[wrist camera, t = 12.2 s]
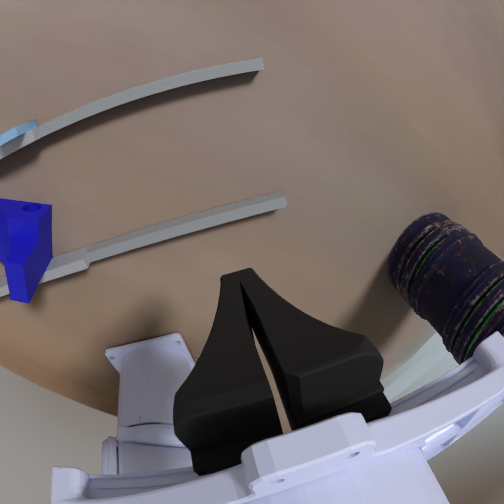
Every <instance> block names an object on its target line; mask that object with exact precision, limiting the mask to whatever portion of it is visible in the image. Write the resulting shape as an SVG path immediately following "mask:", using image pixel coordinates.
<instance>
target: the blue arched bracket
mask: <svg viewBox="0 0 504 504" xmlns="http://www.w3.org/2000/svg"><path fill="white" fill-rule="evenodd" d="M52 258H53V255H52V205H47V204H40V203H32V202H24V201H16V200H8V199H0V260H1V261H3V262H4V265H5V272H6V278H7V283H8V289H9V294H10V299H11V300H14V301H19V302H24V303H29V302H30V300H31V298H32V296H33V294H34V292H35V290H36V288H37V286H38V284H39V282H40V280H41V278H42V276H43V274H44V272H45V271H46V269H47V267H48V265H49V263H50V261H51V260H52Z"/></svg>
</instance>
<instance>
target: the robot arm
mask: <svg viewBox="0 0 504 504" xmlns="http://www.w3.org/2000/svg"><path fill="white" fill-rule="evenodd" d="M220 281H221V286H220V296H219V301H218V307H217V311H216V315H215V319H214V322H213V326H212V329H211V332H210V334H209V337H208V340H207V342H206V344H205V346H204V349H203V351H202V353H201V355H200V357H199V359H198V361H197V362H196V364H195V362H194V360H193V358H192V356H191V354H190V352H189V350H188V348H187V346H186V344H185V342H184V340H183V338H182V336H181V335H180V334H179V333H173V334H169V335H165V336H161V337H157V338H153V339H149V340H145V341H140V342H136V343H132V344H127V345H123V346H118V347H114V348H109V349H106V350H105V355H106V357H107V358H108V360H109V361H110V362H111V364H112V365H113V366H114V368H115V369H116V370H117V371H118V373H119V374H120V384H119V401H118V431H117V438H115V437H111V436H109V437H108V439H107V440H105V441H103V444H102V475H89V474H88V473H86V472H85V471H83V470H81V469H79V468H75V467H53V468H52V482H51V504H449V502H448V500H447V498H446V496H445V494H444V492H443V491H442V489H441V487H440V485H439V484H438V482H437V480H436V478H435V476H434V474H433V472H432V471H431V469H430V467H429V465H428V463H427V462H426V461H427V460H429V459H430V458H432V457H433V456H435V455H436V454H438V453H439V452H441V451H442V450H443V449H445V448H446V447H448V446H449V445H451V444H452V443H453V442H455V441H456V440H457V439H459V438H460V437H461V436H463V435H464V434H465V433H467V432H468V431H469V430H471V429H472V428H473V427H474V426H476V425H477V424H478V423H479V422H481V421H482V420H483V419H484V418H486V417H487V416H488V415H489V414H490V413H492V412H493V411H494V410H495V409H496V408H498V407H499V406H500V405H501V404H502V403H503V402H504V337H503V336H502V335H501V334H500V333H499V332H498V331H496V332H495V333H493V334H492V335H490V336H489V337H488V338H486V339H485V340H483V341H482V342H481V343H480V344H479V345H478V346H477V348H476V349H475V351H474V354H473V356H472V357H471V358H469V359H468V360H466V361H465V362H463V363H462V364H460V365H459V366H457V367H455V368H454V369H452V370H451V371H449V372H447V373H446V374H444V375H442V376H441V377H439V378H437V379H436V380H434V381H432V382H430V383H429V384H427V385H425V386H423V387H421V388H419V389H418V390H416V391H414V392H412V393H410V394H408V395H406V396H404V397H402V398H400V399H398V400H397V401H394V402H392V403H389V402H388V400H387V398H386V397H385V395H384V393H383V391H384V388H383V386H382V384H381V382H380V381H379V380H380V376H381V372H382V368H383V358H382V356H381V354H380V353H379V351H378V350H377V349H376V347H375V346H374V345H373V344H372V343H371V342H370V341H369V340H368V339H367V338H366V337H365V336H364V335H360V334H356V333H353V332H349V331H345V330H342V329H339V328H336V327H333V326H331V325H328V324H326V323H324V322H322V321H319V320H317V319H315V318H313V317H311V316H309V315H308V314H306V313H304V312H302V311H301V310H299V309H297V308H296V307H294V306H293V305H291V304H290V303H289V302H287V301H286V300H285V299H283V298H282V297H281V296H279V295H278V294H277V293H276V292H275V291H274V290H272V289H271V288H270V287H269V286H268V285H267V284H266V283H265V282H264V281H263V280H262V279H261V278H260V277H259V276H258V275H257V274H256V272H255V271H254V270H253V269H252V268H247V269H244V270H240V271H236V272H233V273H229V274H226V275H222V277H221V278H220ZM251 326H252V327H251ZM252 329H253V331H254V333H255V335H256V338H257V340H258V342H259V344H260V347H261V349H262V351H263V353H264V355H265V357H266V360H267V362H268V364H269V366H270V369H271V371H272V374H273V377H274V380H275V383H276V386H277V389H278V392H279V395H280V398H281V400H282V403H283V406H284V409H285V412H286V415H287V418H288V421H289V424H290V427H291V430H292V431H291V432H288V433H285V434H283V432H282V427H281V423H280V420H279V416H278V412H277V408H276V405H275V401H274V397H273V394H272V391H271V388H270V385H269V382H268V379H267V376H266V374H265V371H264V368H263V366H262V363H261V360H260V357H259V355H258V352H257V349H256V346H255V341H254V336H253V331H252ZM176 341H180V342H176ZM111 356H113V357H111Z"/></svg>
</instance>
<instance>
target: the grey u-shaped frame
mask: <svg viewBox="0 0 504 504" xmlns="http://www.w3.org/2000/svg"><path fill="white" fill-rule="evenodd" d="M258 70H264V64H263V58H258V59H251V60H244V61H238V62H233V63H227V64H222V65H217V66H212V67H207V68H203V69H198V70H194V71H190V72H186V73H182V74H178V75H174V76H170V77H167V78H163V79H160V80H156V81H153V82H149V83H146V84H143V85H140V86H137V87H133V88H130V89H127V90H124V91H122V92H119V93H116V94H113V95H110V96H108V97H105V98H102V99H100V100H97V101H94V102H92V103H89V104H87V105H85V106H82V107H80V108H77V109H75V110H73V111H70V112H68V113H66V114H64V115H61V116H59V117H57V118H55V119H53V120H51V121H49V122H47V123H44V124H42V125H40V126H38V127H36V128H34V129H31V130H29V131H28V132H26V133H24V134H22V135H20V136H18V137H16V138H15V139H13V140H11V141H9V142H8V143H6V144H4V145H2V146H1V147H0V159H2V158H4V157H6V156H7V155H9V154H11V153H13V152H15V151H16V150H18V149H20V148H22V147H24V146H26V145H28V144H30V143H32V142H34V141H36V140H38V139H40V138H42V137H44V136H46V135H48V134H50V133H52V132H54V131H56V130H59V129H61V128H63V127H65V126H68V125H70V124H72V123H75V122H77V121H79V120H82V119H84V118H87V117H89V116H92V115H94V114H97V113H99V112H102V111H105V110H107V109H110V108H113V107H116V106H118V105H121V104H124V103H127V102H130V101H133V100H136V99H139V98H142V97H146V96H149V95H152V94H155V93H159V92H162V91H166V90H169V89H173V88H177V87H181V86H185V85H188V84H193V83H197V82H201V81H205V80H210V79H214V78H219V77H224V76H229V75H235V74H240V73H246V72H252V71H258ZM284 207H287V203H286V197H285V195H284V194H283V193H282V192H281V191H278V192H274V193H270V194H266V195H262V196H258V197H254V198H250V199H246V200H243V201H239V202H235V203H231V204H227V205H224V206H220V207H216V208H212V209H209V210H205V211H201V212H198V213H194V214H191V215H187V216H184V217H180V218H177V219H173V220H170V221H166V222H163V223H160V224H156V225H153V226H150V227H146V228H143V229H140V230H136V231H133V232H130V233H127V234H124V235H120V236H117V237H114V238H111V239H108V240H105V241H102V242H99V243H95V244H92V245H89V246H86V247H83V248H80V249H77V250H74V251H72V252H69V253H66V254H63V255H60V256H57V257H54V258H52V260H51V261H50V263H49V265H48V267H47V269H46V271H45V272H44V274H43V276H42V278H41V280H40V282H39V284H40V283H43V282H46V281H50V280H53V279H56V278H59V277H62V276H65V275H68V274H71V273H75V272H78V271H81V270H84V269H87V268H88V267H89V265H90V262H93V261H96V260H100V259H103V258H106V257H109V256H113V255H116V254H119V253H122V252H126V251H129V250H132V249H136V248H139V247H142V246H146V245H149V244H153V243H156V242H159V241H163V240H166V239H170V238H173V237H177V236H180V235H184V234H187V233H191V232H194V231H198V230H201V229H205V228H209V227H212V226H216V225H220V224H223V223H227V222H231V221H234V220H238V219H242V218H245V217H249V216H253V215H257V214H261V213H264V212H268V211H272V210H276V209H280V208H284ZM7 294H9V289H8V283H7V278H6V275H5V276H2V277H0V297H1V296H4V295H7Z"/></svg>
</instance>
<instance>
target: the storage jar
mask: <svg viewBox="0 0 504 504" xmlns="http://www.w3.org/2000/svg"><path fill="white" fill-rule="evenodd" d="M388 276H389V280H390V282H391V283H392V284H393V286H394V287H395V288H396V289H397V290H399V292H400V293H401V294H402V296H403V298H404V300H405V301H406V302H407V303H408V304H409V305H410V306H411V307H412V308H413V309H414V312H415V313H416V314H417V315H419V316H420V317H421V318H423V319H425V320H428V322H429V323H430V324H431V325H432V326H433V327H434V329H435V330H436V331H437V332H438V333H439V334H440V336H441V337H442V338H443V344H444V345H445V346H446V349H447V351H448V352H451V354H452V355H453V357H454V359H455V360H456V361H457V363H458V364H459V365H460V364H462V363H463V362H465V361H466V360H468V359H469V358H471V357H472V356H473V354H474V351H475V349H476V348H477V346H478V345H479V344H480V343H481V342H482V341H483V340H485V339H486V338H488V337H489V336H490V335H492V334H493V333H495V332H496V331H498V332H499V333H500V334H501V335H502V336H503V337H504V261H502V260H501V259H500V258H498V257H497V256H496V255H495V254H493V253H492V252H491V251H490V250H488V249H487V248H486V247H484V246H483V243H482V242H481V240H480V239H479V238H478V237H477V236H476V235H475V234H473V233H470V231H468V230H467V229H466V228H464V227H463V226H461V225H460V224H457V223H455V222H454V221H451V220H450V219H449V218H448V217H446V216H445V215H443V214H441V213H435V212H434V213H428V214H425V215H423V216H421V217H419V218H418V219H416V220H415V221H413V222H412V223H411V224H410V225H409V226H408V227H407V228H406V229H405V230H404V231H403V233H402V234H401V235H400V237H399V238H398V240H397V242H396V243H395V245H394V247H393V250H392V252H391V255H390V258H389V263H388Z"/></svg>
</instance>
